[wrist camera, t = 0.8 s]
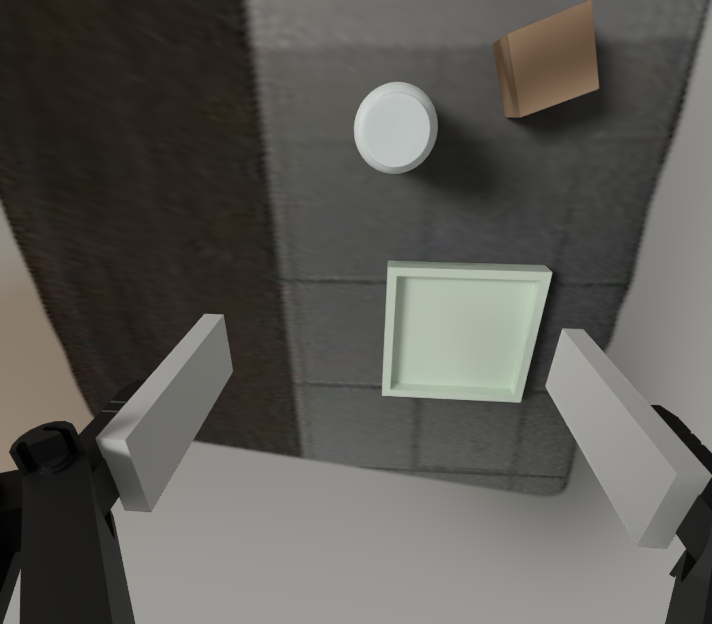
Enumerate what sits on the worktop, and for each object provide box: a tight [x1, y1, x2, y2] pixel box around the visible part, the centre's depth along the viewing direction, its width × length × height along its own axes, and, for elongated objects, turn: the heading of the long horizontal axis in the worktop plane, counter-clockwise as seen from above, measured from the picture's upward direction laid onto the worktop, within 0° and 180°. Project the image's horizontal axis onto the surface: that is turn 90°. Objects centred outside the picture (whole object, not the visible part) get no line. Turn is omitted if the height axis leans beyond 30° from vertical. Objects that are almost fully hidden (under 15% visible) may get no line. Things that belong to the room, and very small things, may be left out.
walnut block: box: [493, 0, 599, 117], centre depth 27 cm, size 5×5×4 cm
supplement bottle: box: [354, 82, 438, 174], centre depth 27 cm, size 5×5×10 cm
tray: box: [382, 261, 552, 402], centre depth 38 cm, size 14×14×2 cm
